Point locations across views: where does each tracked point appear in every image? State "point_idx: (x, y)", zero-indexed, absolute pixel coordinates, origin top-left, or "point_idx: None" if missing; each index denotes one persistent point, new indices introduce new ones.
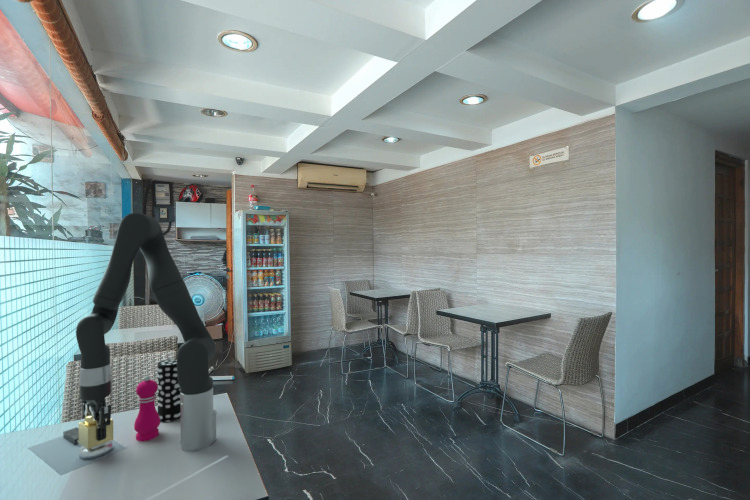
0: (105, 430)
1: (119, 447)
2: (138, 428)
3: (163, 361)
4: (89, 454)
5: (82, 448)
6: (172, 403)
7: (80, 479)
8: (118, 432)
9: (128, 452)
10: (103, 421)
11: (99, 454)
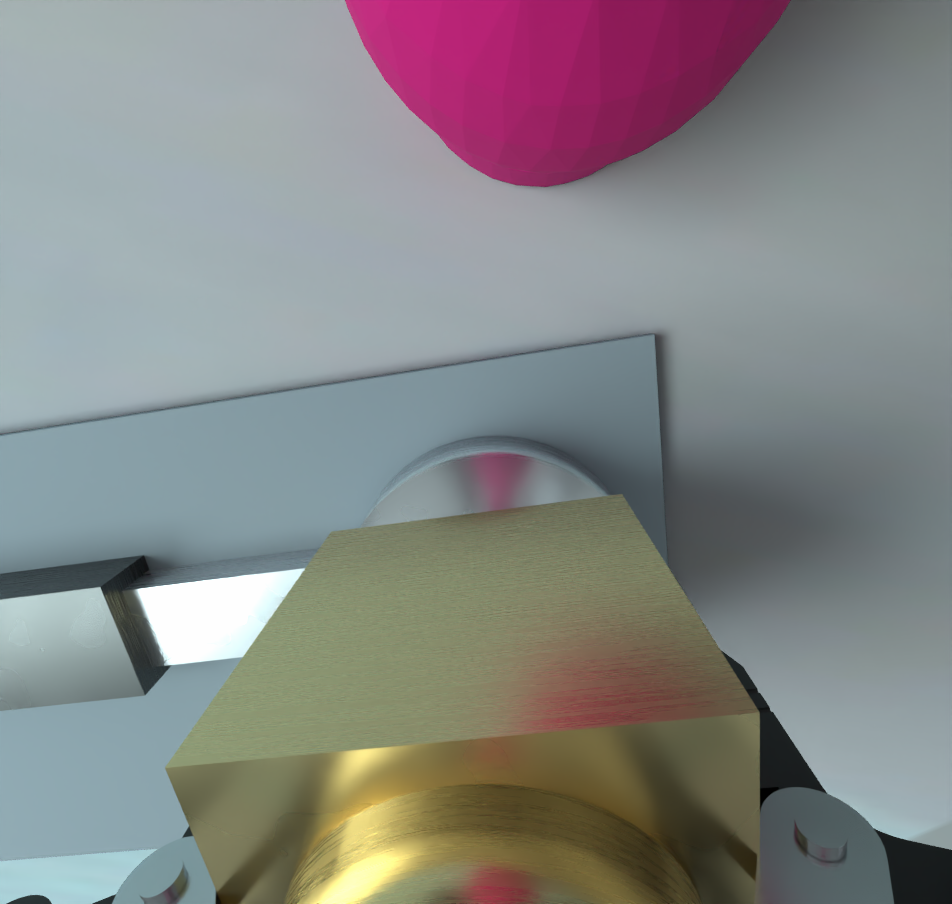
0: (787, 742)
1: (576, 388)
2: (678, 125)
3: None
4: None
5: None
6: None
7: (856, 726)
8: (115, 279)
9: (745, 341)
10: (688, 884)
11: None
